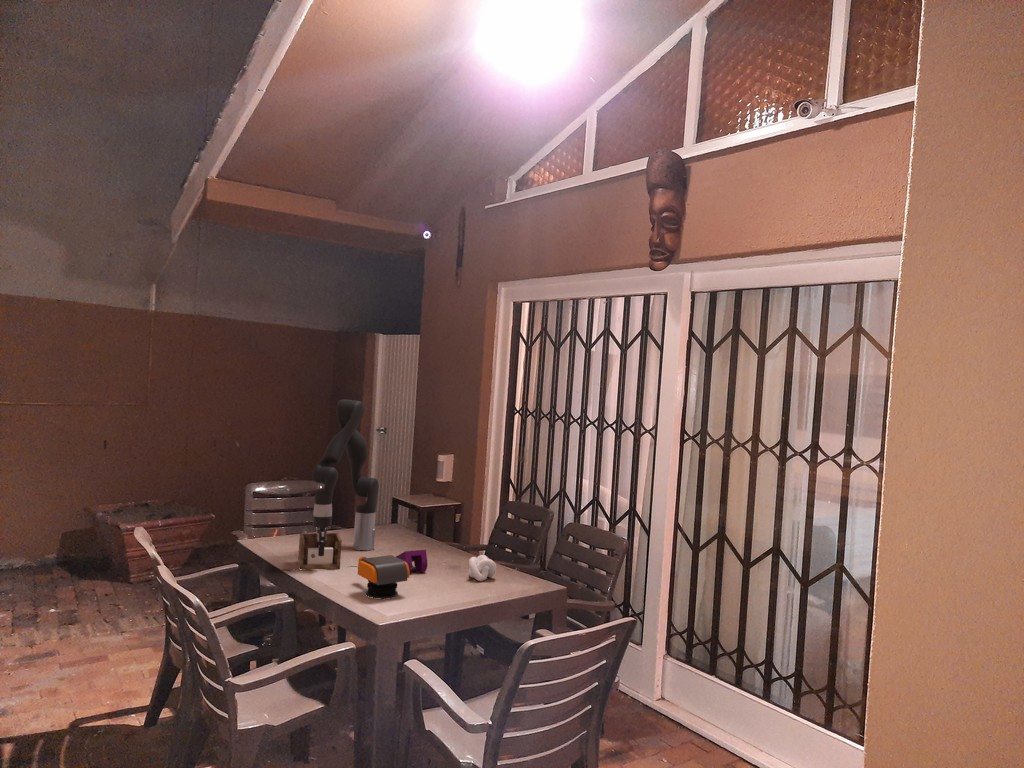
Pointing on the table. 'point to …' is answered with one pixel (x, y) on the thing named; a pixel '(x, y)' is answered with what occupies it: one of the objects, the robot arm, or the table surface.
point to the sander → (383, 575)
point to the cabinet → (311, 542)
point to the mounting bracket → (415, 559)
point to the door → (315, 559)
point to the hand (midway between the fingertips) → (320, 553)
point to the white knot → (481, 567)
